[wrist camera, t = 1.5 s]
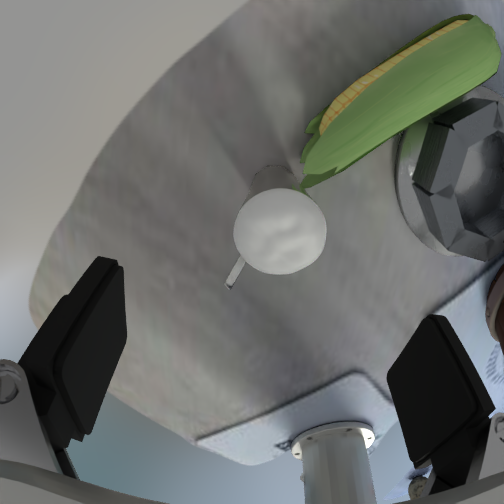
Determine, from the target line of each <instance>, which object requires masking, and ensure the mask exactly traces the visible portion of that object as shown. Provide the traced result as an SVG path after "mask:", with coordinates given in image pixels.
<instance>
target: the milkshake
mask: <svg viewBox="0 0 504 504" xmlns="http://www.w3.org/2000/svg"><path fill="white" fill-rule="evenodd" d="M326 231H327V227H326V221H325V218H324V215H323V213H322V211H321V210H320V208H319V207H318V205H317V204H316V203H315V202H314V201H313V199H312V198H311V197H310V196H309V195H308V193H307V192H306V191H305V189H304V188H303V187H302V185H301V184H300V182H299V181H298V180H297V178H296V177H295V176H294V174H292V173H291V172H290V171H288V170H287V169H286V168H284V167H283V166H266V167H265V168H263V169H262V170H260V171H259V172H257V173H256V174H255V177H254V180H253V182H252V185H251V188H250V190H249V193H248V195H247V197H246V199H245V201H244V203H243V205H242V207H241V209H240V211H239V213H238V215H237V218H236V221H235V224H234V230H233V237H234V242H235V245H236V248H237V250H238V251H239V253H240V256H239V258H238V260H237V262H236V263H235V265H234V267H233V269H232V270H231V272H230V274H229V276H228V277H227V279H226V281H225V283H224V285H225V286H226V287H227V288H228V289H229V290H231V288H232V287H233V285H234V283H235V281H236V279H237V277H238V276H239V274H240V272H241V270H242V268H243V266H244V265H245V263H246V262H247V263H248V264H250V265H251V266H252V267H254V268H255V269H257V270H259V271H261V272H264V273H268V274H276V275H284V274H291V273H294V272H297V271H299V270H301V269H303V268H305V267H307V266H308V265H310V264H312V263H313V262H314V261H315V260H316V259H317V258H318V257H319V256H320V254H321V253H322V251H323V249H324V246H325V241H326Z"/></svg>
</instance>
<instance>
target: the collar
mask: <svg viewBox="0 0 504 504" xmlns="http://www.w3.org/2000/svg"><path fill="white" fill-rule="evenodd" d="M395 186H396V194H397V199H398V204H399V206H400V209H401V212H402V215H403V217H404V219H405V221H406V223H407V224H408V226H409V227H410V229H411V230H412V232H413V233H414V234H415V235H416V236H417V237H418V238H419V239H420V241H421V242H422V243H424V244H425V245H426V246H427V247H429V248H430V249H432V250H434V251H436V252H438V253H441V254H443V255H448V256H467V257H470V258H474V259H477V260H481V261H484V262H485V261H486V260H487V261H489V260H491V259H492V258H493V257H495V256H496V255H498V254H499V253H501V252H502V251H503V250H504V98H502V97H501V96H500V95H499V94H497V93H496V92H494V91H492V90H491V89H488V88H486V87H483V86H480V85H479V86H478V87H476V88H475V89H473V90H472V91H470V92H469V93H467V94H466V95H464V96H462V97H460V98H458V99H457V100H455V101H453V102H451V103H450V104H448V105H446V106H444V107H443V108H441V109H439V110H438V111H436V112H434V113H432V114H431V115H429V116H427V117H426V118H424V119H422V120H420V121H419V122H417V123H415V124H414V125H412V126H410V127H409V128H407V129H405V130H404V131H403V134H402V137H401V140H400V143H399V147H398V151H397V156H396V164H395Z"/></svg>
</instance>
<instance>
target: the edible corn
mask: <svg viewBox="0 0 504 504" xmlns="http://www.w3.org/2000/svg"><path fill="white" fill-rule="evenodd" d="M500 58H501V51H500V48H499V45H498V42H497V40H496V39H495V31H494V30H493V28H492V27H491V26H489V25H488V24H485V23H484V22H483V21H482V20H481V19H480V18H479V17H478V16H476V15H475V16H473V15H471V14H463V15H458V16H454V17H451V18H449V19H447V20H444V21H442V22H440V23H439V24H437V25H435V26H433V27H432V28H430V29H428V30H427V31H425V32H424V33H422V34H421V35H419V36H418V37H416V38H415V39H413V40H412V41H411V42H409V43H408V44H406V45H405V46H403V47H402V48H401V49H399V50H398V51H397V52H395V53H394V54H393V55H391V56H390V57H389V58H387V59H386V60H385V61H383V62H382V63H381V64H379V65H378V66H377V67H375V68H374V69H373V70H371V71H370V72H369V73H367V74H366V75H364V76H363V77H361V78H359V79H358V80H356V81H355V82H354V83H353V84H352V85H350V86H349V87H348V88H347V89H346V90H345V91H343V92H342V93H341V94H340V95H339V96H337V97H336V98H335V99H334V101H333V102H332V103H331V104H330V105H328V106H327V107H326V108H325V109H324V110H323V111H322V112H321V113H319V114H318V115H317V116H316V117H315V118H314V119H313V120H312V121H311V122H310V123H309V125H308V127H307V129H306V131H305V133H312V134H314V135H313V137H312V138H311V139H310V141H309V142H308V143H307V145H306V146H305V147H304V149H303V153H302V156H301V160H300V163H305V166H304V170H303V174H307V175H306V177H305V178H304V179H303V181H302V183H301V185H302V187H303V188H304V189H305V188H309V187H312V186H314V185H316V184H318V183H320V182H322V181H324V180H326V179H328V178H330V177H332V176H334V175H336V174H338V173H340V172H342V171H344V170H345V169H347V168H348V167H350V166H351V165H353V164H354V163H355V162H357V161H358V160H360V159H361V158H363V157H364V156H365V155H367V154H368V153H370V152H371V151H373V150H374V149H375V148H377V147H378V146H380V145H381V144H383V143H384V142H386V141H387V140H388V139H390V138H392V137H393V136H395V135H397V134H398V133H400V132H402V131H403V130H405V129H407V128H409V127H410V126H412V125H414V124H415V123H417V122H419V121H420V120H422V119H424V118H426V117H427V116H429V115H431V114H432V113H434V112H436V111H438V110H439V109H441V108H443V107H444V106H446V105H448V104H450V103H451V102H453V101H455V100H457V99H458V98H460V97H462V96H464V95H466V94H467V93H469V92H470V91H472V90H473V89H475V88H476V87H478V86H479V85H481V84H483V83H484V82H486V81H487V80H488V79H490V78H491V77H492V76H493V75H495V74H496V73H497V70H498V66H499V62H500Z"/></svg>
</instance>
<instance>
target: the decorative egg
mask: <svg viewBox="0 0 504 504" xmlns="http://www.w3.org/2000/svg"><path fill="white" fill-rule="evenodd" d="M427 480H428V478H426V477H423V476H419V477H416V478H414V479H413V480H412V481H411V483H410V484H409V488H408V493H409V496H410V499H411V500H413V499H417V498H419V497H420V495H421V493H422V491H423V489H424V487H425V484H426V482H427Z"/></svg>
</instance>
